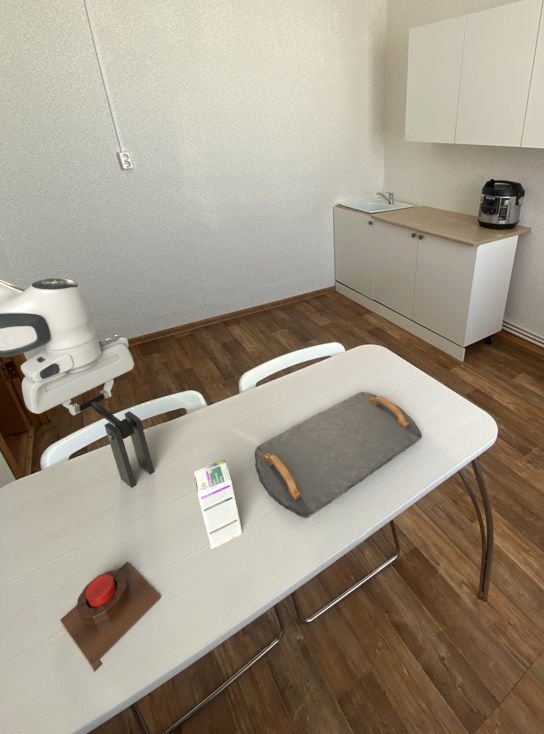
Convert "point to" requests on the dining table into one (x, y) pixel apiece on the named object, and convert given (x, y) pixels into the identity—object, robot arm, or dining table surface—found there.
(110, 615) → the control block
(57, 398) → the robot arm
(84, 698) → the dining table surface
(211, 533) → the syrup box
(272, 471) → the serving tray
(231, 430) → the dining table surface
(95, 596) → the button
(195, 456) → the dining table surface
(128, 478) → the bracket
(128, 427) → the lever
